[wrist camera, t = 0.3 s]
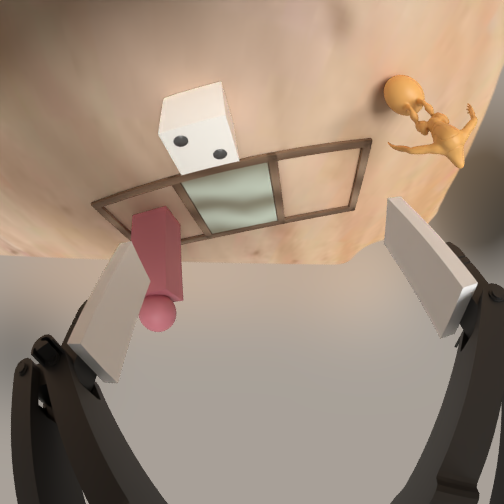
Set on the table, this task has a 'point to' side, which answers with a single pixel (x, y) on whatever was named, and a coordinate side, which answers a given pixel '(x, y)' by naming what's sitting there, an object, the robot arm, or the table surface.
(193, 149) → the die
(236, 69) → the table surface
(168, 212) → the pawn
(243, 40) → the table surface
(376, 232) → the table surface
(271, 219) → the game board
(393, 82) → the figurine
